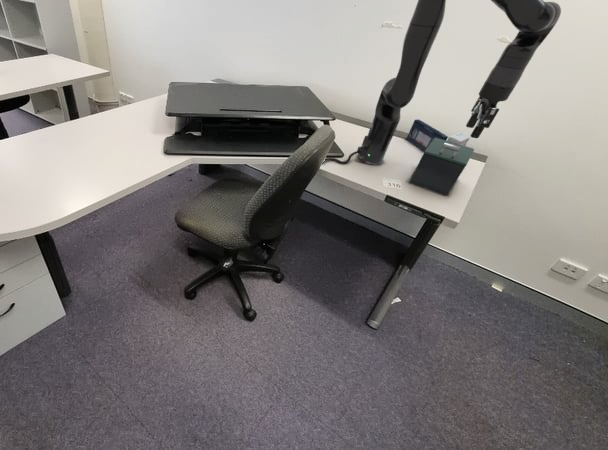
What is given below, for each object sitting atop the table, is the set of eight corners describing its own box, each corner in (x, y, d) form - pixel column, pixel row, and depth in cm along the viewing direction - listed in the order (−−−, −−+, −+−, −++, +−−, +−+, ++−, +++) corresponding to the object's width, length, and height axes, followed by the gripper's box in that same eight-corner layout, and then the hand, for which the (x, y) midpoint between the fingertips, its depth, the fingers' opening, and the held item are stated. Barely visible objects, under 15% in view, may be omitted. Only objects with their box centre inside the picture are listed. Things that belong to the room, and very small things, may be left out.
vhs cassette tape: (405, 139, 158) (414, 119, 152) (410, 138, 159) (420, 119, 152) (431, 158, 145) (442, 137, 138) (437, 157, 145) (448, 136, 139)
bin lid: (465, 166, 113) (473, 153, 110) (423, 153, 120) (430, 140, 117) (473, 150, 123) (480, 138, 120) (434, 139, 130) (440, 127, 127)
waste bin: (446, 196, 123) (465, 166, 114) (408, 182, 129) (423, 153, 121) (455, 179, 132) (473, 150, 123) (419, 167, 138) (434, 139, 130)
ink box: (446, 166, 139) (460, 141, 132) (434, 161, 142) (448, 136, 135) (456, 161, 143) (471, 136, 135) (445, 156, 146) (459, 131, 138)
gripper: (482, 73, 105) (455, 122, 115) (492, 87, 95) (462, 138, 105) (509, 76, 102) (480, 126, 113) (522, 91, 92) (489, 143, 103)
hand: (471, 132), depth 109 cm, fingers open, 8 cm apart
